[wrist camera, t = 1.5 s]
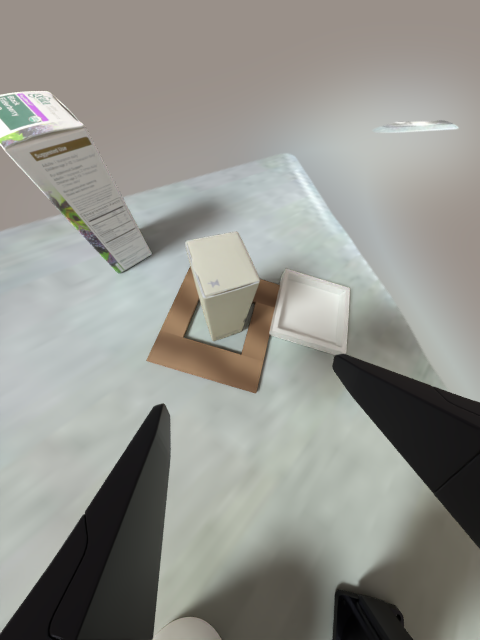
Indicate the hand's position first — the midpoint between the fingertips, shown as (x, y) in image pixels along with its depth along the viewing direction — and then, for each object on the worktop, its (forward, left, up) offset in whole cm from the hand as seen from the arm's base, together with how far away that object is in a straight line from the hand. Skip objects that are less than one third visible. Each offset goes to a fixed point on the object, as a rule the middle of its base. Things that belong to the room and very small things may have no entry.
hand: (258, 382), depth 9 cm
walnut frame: (+7, +4, -14) cm, 16 cm away
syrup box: (+13, +21, -14) cm, 29 cm away
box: (+7, +4, -14) cm, 16 cm away
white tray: (+12, -8, -14) cm, 20 cm away
